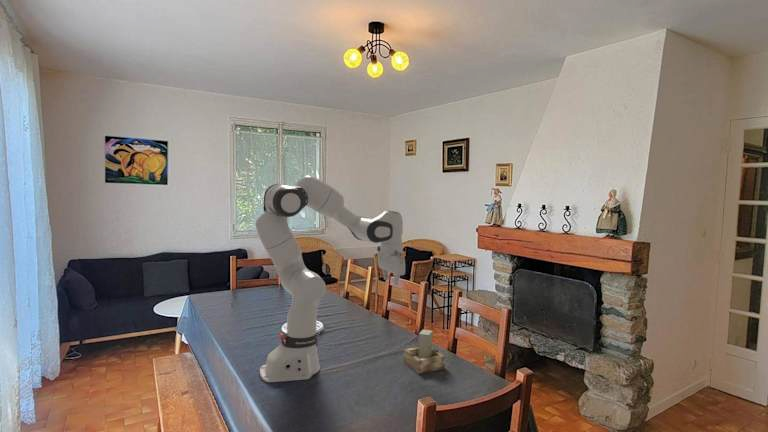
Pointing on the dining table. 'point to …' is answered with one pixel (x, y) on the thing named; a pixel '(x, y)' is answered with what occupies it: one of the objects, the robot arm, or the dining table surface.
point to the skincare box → (425, 344)
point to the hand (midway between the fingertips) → (390, 281)
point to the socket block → (424, 360)
